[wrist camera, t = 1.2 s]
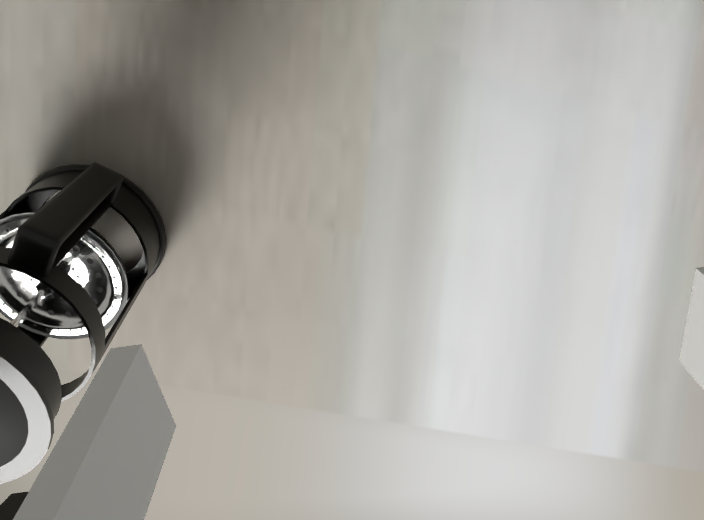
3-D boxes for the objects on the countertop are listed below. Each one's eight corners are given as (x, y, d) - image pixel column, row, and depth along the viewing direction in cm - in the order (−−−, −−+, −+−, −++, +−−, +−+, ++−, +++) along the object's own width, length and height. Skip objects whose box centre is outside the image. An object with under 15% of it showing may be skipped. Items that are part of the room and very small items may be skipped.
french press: (134, 316, 40) (-65, 673, 20) (3, 261, 38) (-372, 605, 18) (197, 186, 36) (18, 486, 16) (52, 113, 33) (-386, 357, 13)
